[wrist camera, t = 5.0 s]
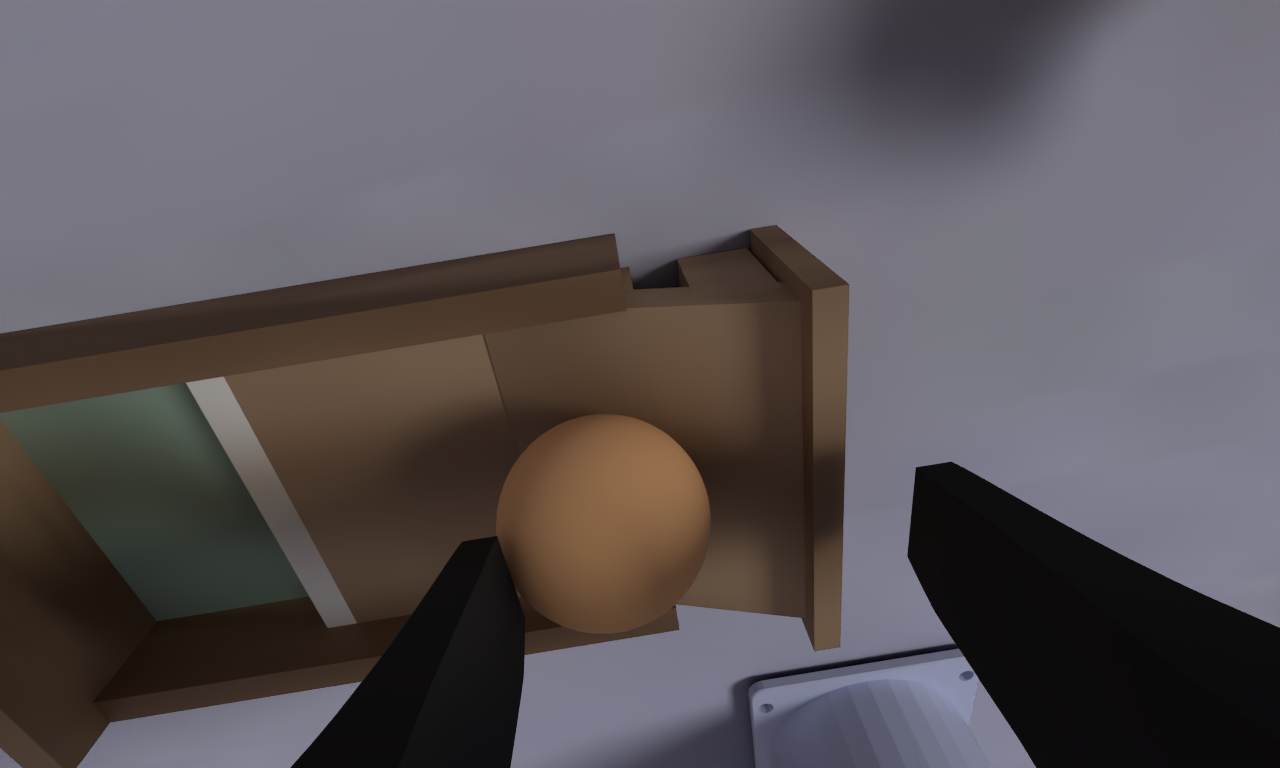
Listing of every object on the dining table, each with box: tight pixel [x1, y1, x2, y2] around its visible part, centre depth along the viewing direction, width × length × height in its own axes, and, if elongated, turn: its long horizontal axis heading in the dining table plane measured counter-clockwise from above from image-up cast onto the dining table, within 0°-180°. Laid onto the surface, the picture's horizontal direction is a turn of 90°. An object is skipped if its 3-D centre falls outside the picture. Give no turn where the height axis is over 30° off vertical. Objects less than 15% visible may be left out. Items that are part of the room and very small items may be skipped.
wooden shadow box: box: [0, 225, 849, 768], centre depth 13 cm, size 10×19×4 cm, turn 98°
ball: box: [496, 414, 711, 634], centre depth 11 cm, size 4×4×4 cm
